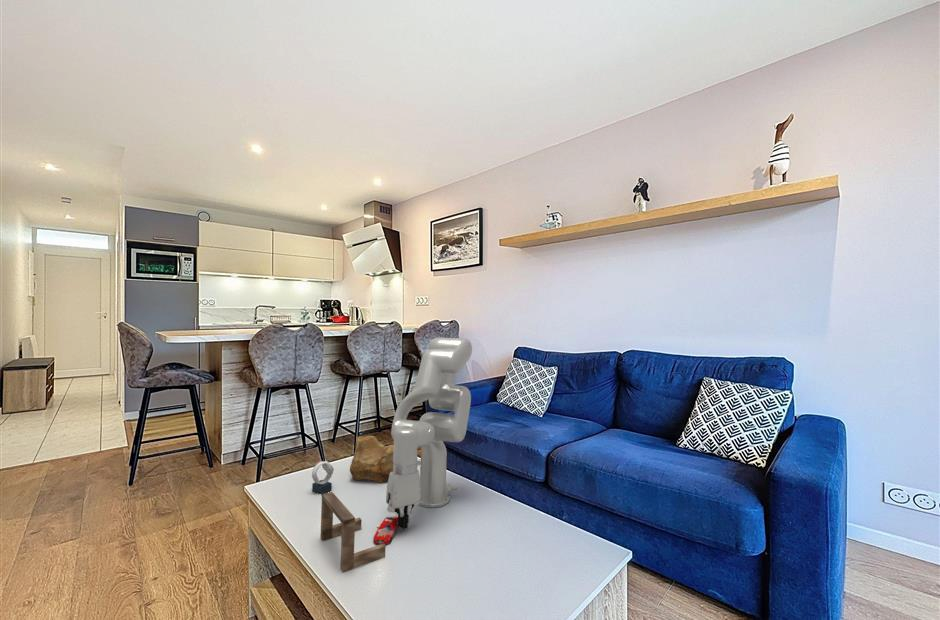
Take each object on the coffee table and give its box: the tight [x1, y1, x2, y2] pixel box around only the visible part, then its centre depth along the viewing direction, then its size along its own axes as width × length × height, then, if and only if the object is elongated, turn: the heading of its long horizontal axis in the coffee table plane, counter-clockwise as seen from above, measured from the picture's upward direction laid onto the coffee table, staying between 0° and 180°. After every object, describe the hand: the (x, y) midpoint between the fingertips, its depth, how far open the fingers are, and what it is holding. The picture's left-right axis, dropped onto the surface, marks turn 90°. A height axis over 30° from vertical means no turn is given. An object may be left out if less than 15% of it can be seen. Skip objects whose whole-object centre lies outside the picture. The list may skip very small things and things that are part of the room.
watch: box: [311, 460, 335, 496], centre depth 151 cm, size 6×8×11 cm
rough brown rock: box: [349, 435, 394, 483], centre depth 165 cm, size 23×17×15 cm
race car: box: [372, 515, 400, 546], centre depth 122 cm, size 13×5×4 cm, turn 172°
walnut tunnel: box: [319, 491, 387, 573], centre depth 115 cm, size 12×19×13 cm, turn 37°
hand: (403, 526), depth 124 cm, fingers closed
